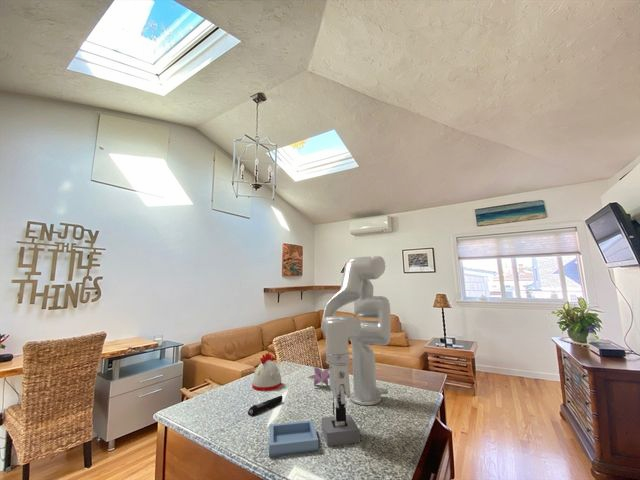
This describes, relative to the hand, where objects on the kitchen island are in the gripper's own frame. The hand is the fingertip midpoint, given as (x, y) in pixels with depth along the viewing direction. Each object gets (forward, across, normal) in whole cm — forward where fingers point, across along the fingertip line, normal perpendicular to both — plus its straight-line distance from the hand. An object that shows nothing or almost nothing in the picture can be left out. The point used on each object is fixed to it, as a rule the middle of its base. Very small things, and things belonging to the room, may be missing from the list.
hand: (339, 417), depth 88 cm
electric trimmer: (+6, +25, +24) cm, 35 cm away
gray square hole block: (+5, 0, 0) cm, 5 cm away
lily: (+6, +42, -2) cm, 43 cm away
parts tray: (+5, -1, +15) cm, 16 cm away
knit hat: (+6, +51, +24) cm, 56 cm away
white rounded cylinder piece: (+4, 0, 0) cm, 4 cm away
